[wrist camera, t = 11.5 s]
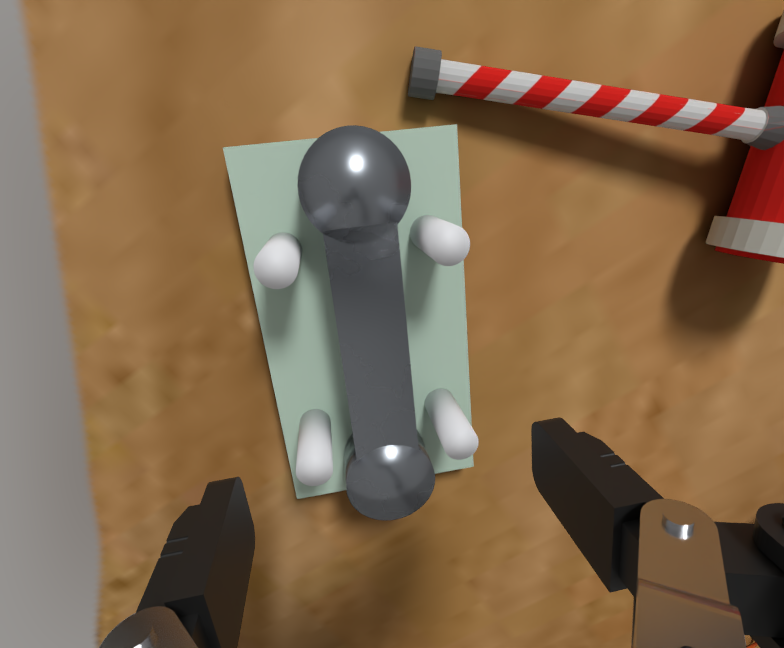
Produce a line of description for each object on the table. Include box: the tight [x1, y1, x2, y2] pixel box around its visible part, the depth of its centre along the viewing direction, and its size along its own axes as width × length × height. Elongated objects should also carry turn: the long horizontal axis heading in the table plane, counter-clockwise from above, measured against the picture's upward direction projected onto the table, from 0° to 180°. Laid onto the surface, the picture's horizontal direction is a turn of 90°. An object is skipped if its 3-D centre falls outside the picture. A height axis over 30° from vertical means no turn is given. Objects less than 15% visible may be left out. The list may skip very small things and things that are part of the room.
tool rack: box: [223, 124, 478, 499], centre depth 21 cm, size 18×10×6 cm, turn 6°
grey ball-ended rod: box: [297, 126, 435, 520], centre depth 21 cm, size 18×4×3 cm, turn 6°
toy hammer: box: [408, 11, 784, 264], centre depth 20 cm, size 23×12×6 cm, turn 83°
